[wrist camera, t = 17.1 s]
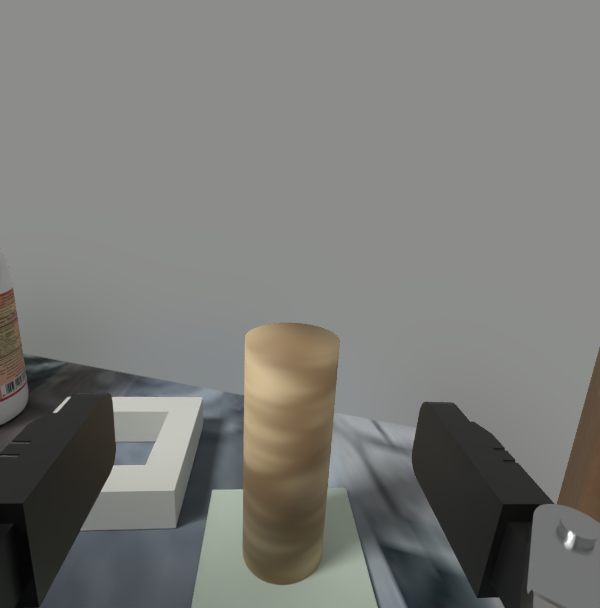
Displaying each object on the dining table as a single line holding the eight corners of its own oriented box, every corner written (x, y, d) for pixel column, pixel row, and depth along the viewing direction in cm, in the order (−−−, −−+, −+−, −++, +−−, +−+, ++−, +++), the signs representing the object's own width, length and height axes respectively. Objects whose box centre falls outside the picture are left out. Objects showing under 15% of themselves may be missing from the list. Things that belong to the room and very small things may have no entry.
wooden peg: (239, 586, 22) (242, 355, 18) (244, 516, 27) (247, 321, 23) (327, 583, 23) (347, 357, 19) (317, 515, 28) (331, 323, 24)
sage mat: (186, 641, 20) (185, 635, 20) (212, 494, 29) (212, 489, 29) (381, 631, 21) (382, 625, 21) (345, 492, 30) (345, 487, 30)
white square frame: (-18, 533, 25) (-26, 493, 24) (71, 425, 37) (67, 396, 36) (175, 528, 26) (174, 490, 26) (203, 425, 38) (202, 397, 37)
